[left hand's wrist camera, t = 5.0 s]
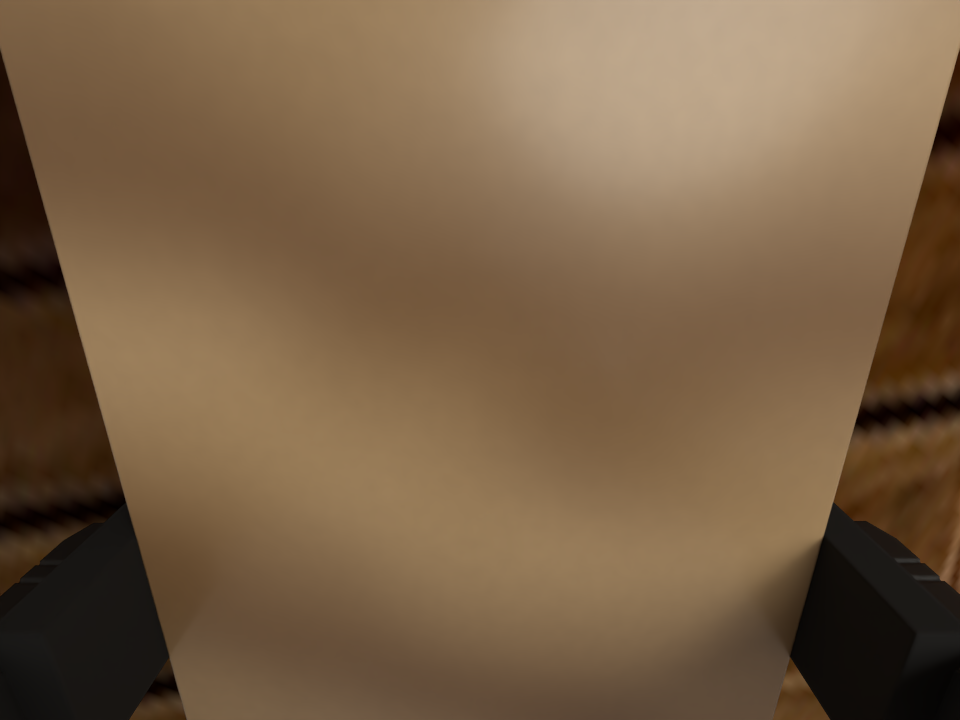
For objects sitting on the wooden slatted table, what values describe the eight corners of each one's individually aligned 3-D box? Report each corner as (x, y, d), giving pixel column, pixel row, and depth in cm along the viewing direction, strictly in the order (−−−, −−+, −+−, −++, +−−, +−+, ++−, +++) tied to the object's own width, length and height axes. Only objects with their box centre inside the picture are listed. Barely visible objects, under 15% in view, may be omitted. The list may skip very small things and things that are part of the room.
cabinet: (219, -288, 11) (-406, -1393, 3) (741, -289, 11) (1365, -1391, 3) (318, 503, 18) (195, 757, 10) (640, 504, 18) (763, 757, 10)
